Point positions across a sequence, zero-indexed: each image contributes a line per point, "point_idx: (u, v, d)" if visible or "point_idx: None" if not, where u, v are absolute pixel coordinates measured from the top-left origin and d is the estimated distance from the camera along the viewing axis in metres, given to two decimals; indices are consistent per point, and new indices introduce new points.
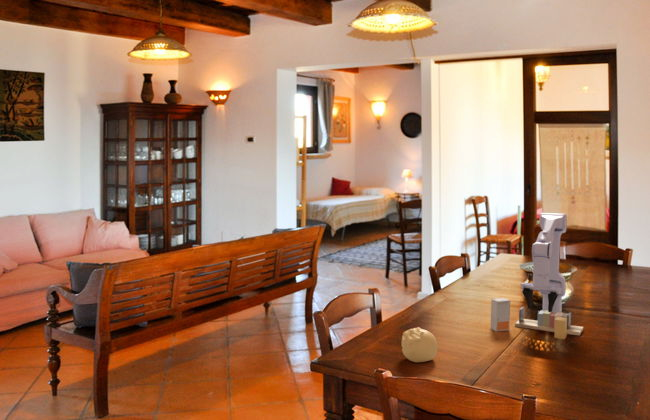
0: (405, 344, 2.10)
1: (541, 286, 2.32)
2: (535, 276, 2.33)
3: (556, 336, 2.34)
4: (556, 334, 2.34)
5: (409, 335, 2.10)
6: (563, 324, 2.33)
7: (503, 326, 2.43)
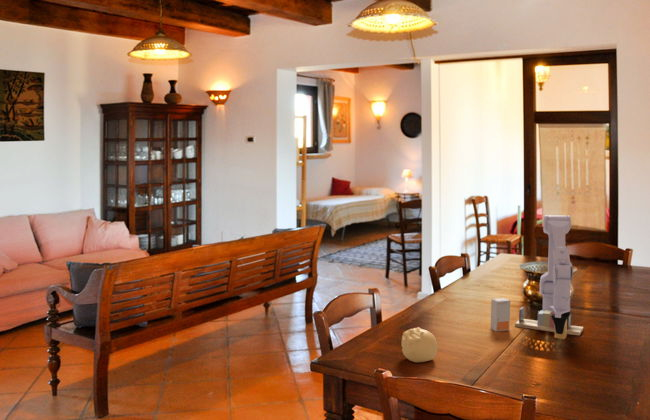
0: (405, 344, 2.10)
1: (553, 307, 2.35)
2: None
3: (556, 336, 2.34)
4: (556, 334, 2.34)
5: (409, 335, 2.10)
6: None
7: (503, 326, 2.43)
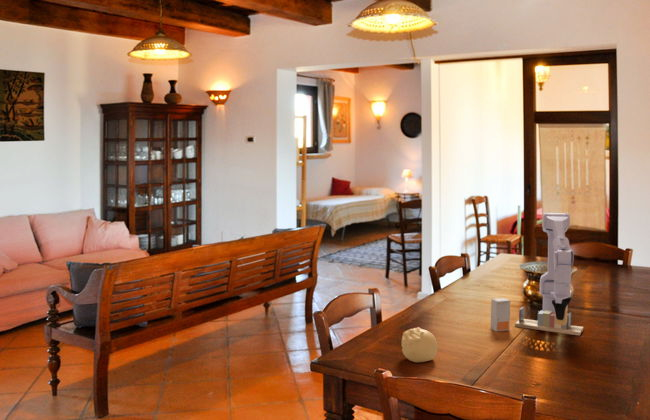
0: (405, 344, 2.10)
1: (554, 292, 2.34)
2: None
3: (557, 322, 2.34)
4: (557, 320, 2.34)
5: (409, 335, 2.10)
6: None
7: (503, 326, 2.43)
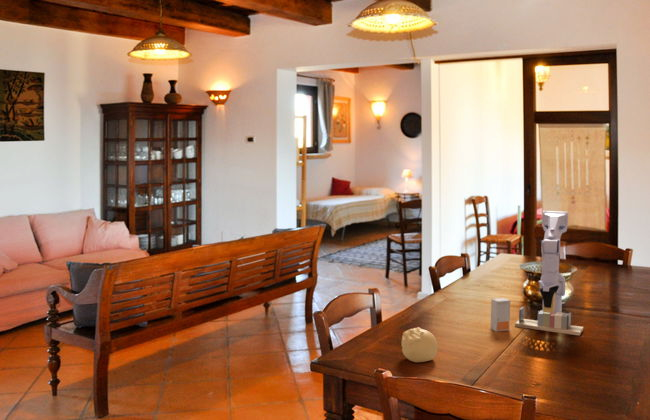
0: (405, 344, 2.10)
1: (542, 281, 2.39)
2: None
3: (544, 310, 2.39)
4: (544, 308, 2.39)
5: (409, 335, 2.10)
6: None
7: (503, 326, 2.43)
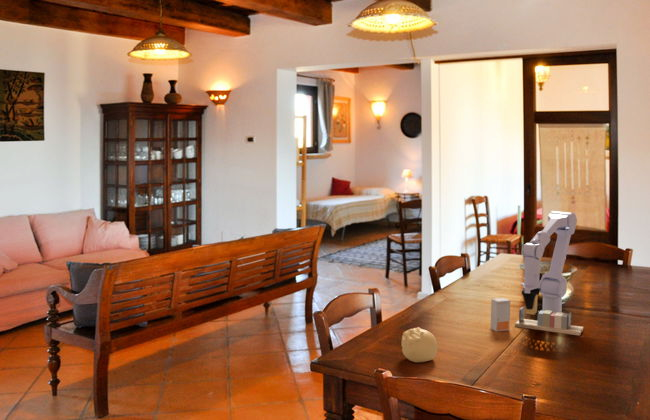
0: (405, 344, 2.10)
1: (524, 283, 2.48)
2: None
3: (527, 311, 2.48)
4: (527, 310, 2.48)
5: (409, 335, 2.10)
6: None
7: (503, 326, 2.43)
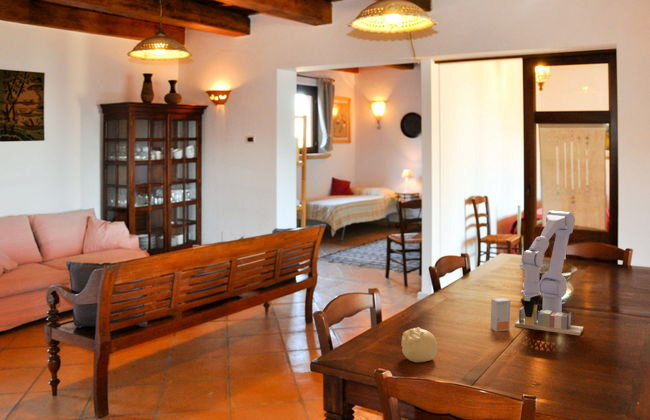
0: (405, 344, 2.10)
1: (523, 291, 2.49)
2: None
3: (526, 322, 2.48)
4: (526, 320, 2.48)
5: (409, 335, 2.10)
6: (533, 310, 2.47)
7: (503, 326, 2.43)
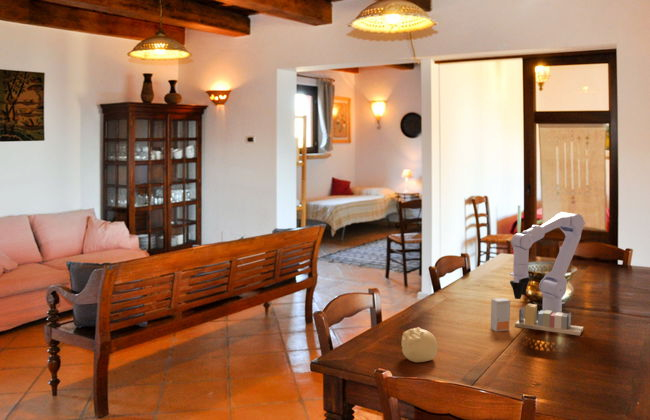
0: (405, 344, 2.10)
1: (513, 273, 2.53)
2: None
3: (526, 322, 2.48)
4: (526, 320, 2.48)
5: (409, 335, 2.10)
6: (533, 310, 2.47)
7: (503, 326, 2.43)
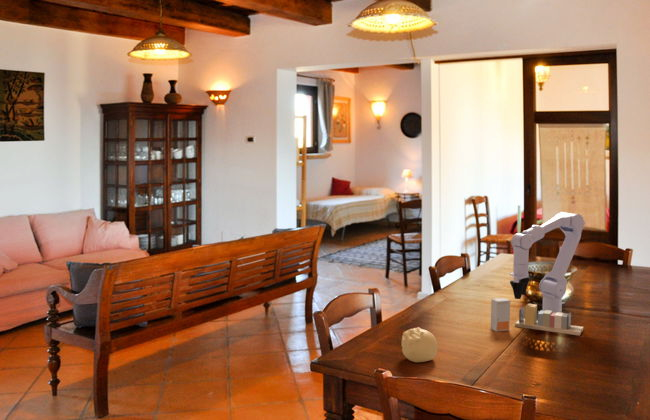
0: (405, 344, 2.10)
1: (513, 273, 2.53)
2: None
3: (526, 322, 2.48)
4: (526, 320, 2.48)
5: (409, 335, 2.10)
6: (533, 310, 2.47)
7: (503, 326, 2.43)
